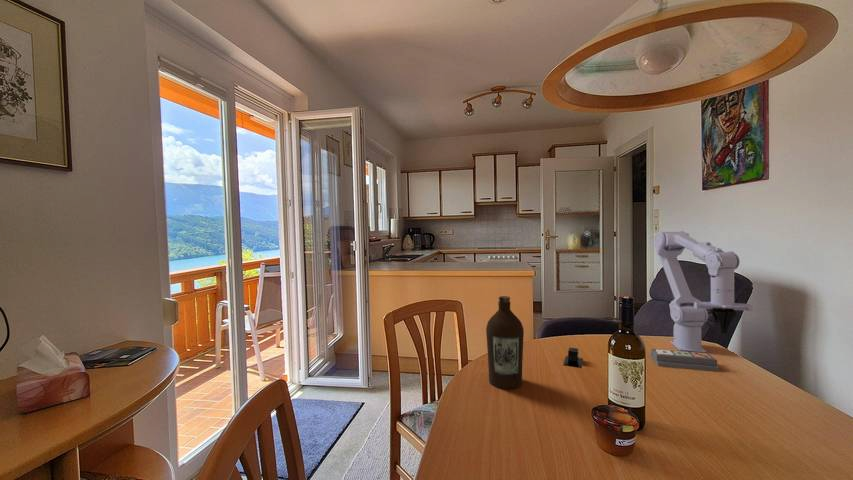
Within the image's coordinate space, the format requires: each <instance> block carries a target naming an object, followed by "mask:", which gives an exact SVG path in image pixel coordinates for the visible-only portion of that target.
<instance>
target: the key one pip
mask: <svg viewBox="0 0 853 480" xmlns="http://www.w3.org/2000/svg"><path fill="white" fill-rule="evenodd" d="M669 350H670V349H662V350H656V353H657V354H661V355H673V356H674V354H673V353H672V352H671V351H669Z"/></svg>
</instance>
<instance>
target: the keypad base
mask: <svg viewBox="0 0 853 480" xmlns="http://www.w3.org/2000/svg"><path fill="white" fill-rule="evenodd" d="M656 350H663V349H661V348H660V349H659V348H651V351H650V354H649V357H650V358H651V360H652V362H654V363H655V364H656V366H658V367H667V368H677V369H688V370H689V369H690V370H700V371H711V372H720V368H719V366H718V359H717V358H715V357H714V356H712V355H711V354H710V353H709V352H705V353H706V354H707V355H709V356H710V357H711V358H712V359H709V358H697V357H695V356H694V355H692V354H691V352H692V351H681V350H680V351H681V352H688V353H689V354H690V355H692V356H693V357H685V356H677V355H676V354H675V353H673V351H675V350H673V349H668V350H669V351H671V352H672V353H673V354H674V356H673V355H661V354H657V353H656ZM693 352H694V351H693ZM694 353H701V352H694Z"/></svg>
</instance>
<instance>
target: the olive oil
mask: <svg viewBox="0 0 853 480" xmlns="http://www.w3.org/2000/svg"><path fill="white" fill-rule="evenodd" d="M497 303H498V310H497V311H496V312H495V313H494V314H493V315H492V316H491V317H490V318H489V320H488V321H487V324H486V328H485V333H486V348H487V364H488V365H487V366H488V381H489V384H491V386H494V387H495V388H499V389H502V390H503V389H504V390H513V389H517V388H519V387H521V385H523V354H524V353H523V352H524V336H525V335H524V334H525V333H524V326H523V323H522V321H521V320H520V319H519V317H517V315H515V313H514V312H513V311H512V310H511V297H510V296H508V295H500V296H498V302H497Z"/></svg>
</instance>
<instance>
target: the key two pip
mask: <svg viewBox="0 0 853 480" xmlns="http://www.w3.org/2000/svg"><path fill="white" fill-rule="evenodd" d="M688 352H689V351H687V352H681V350H674V351H673V353H675V354H676V355H677V356H685V357H693V356H692V355H690V354H689V353H688Z"/></svg>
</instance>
